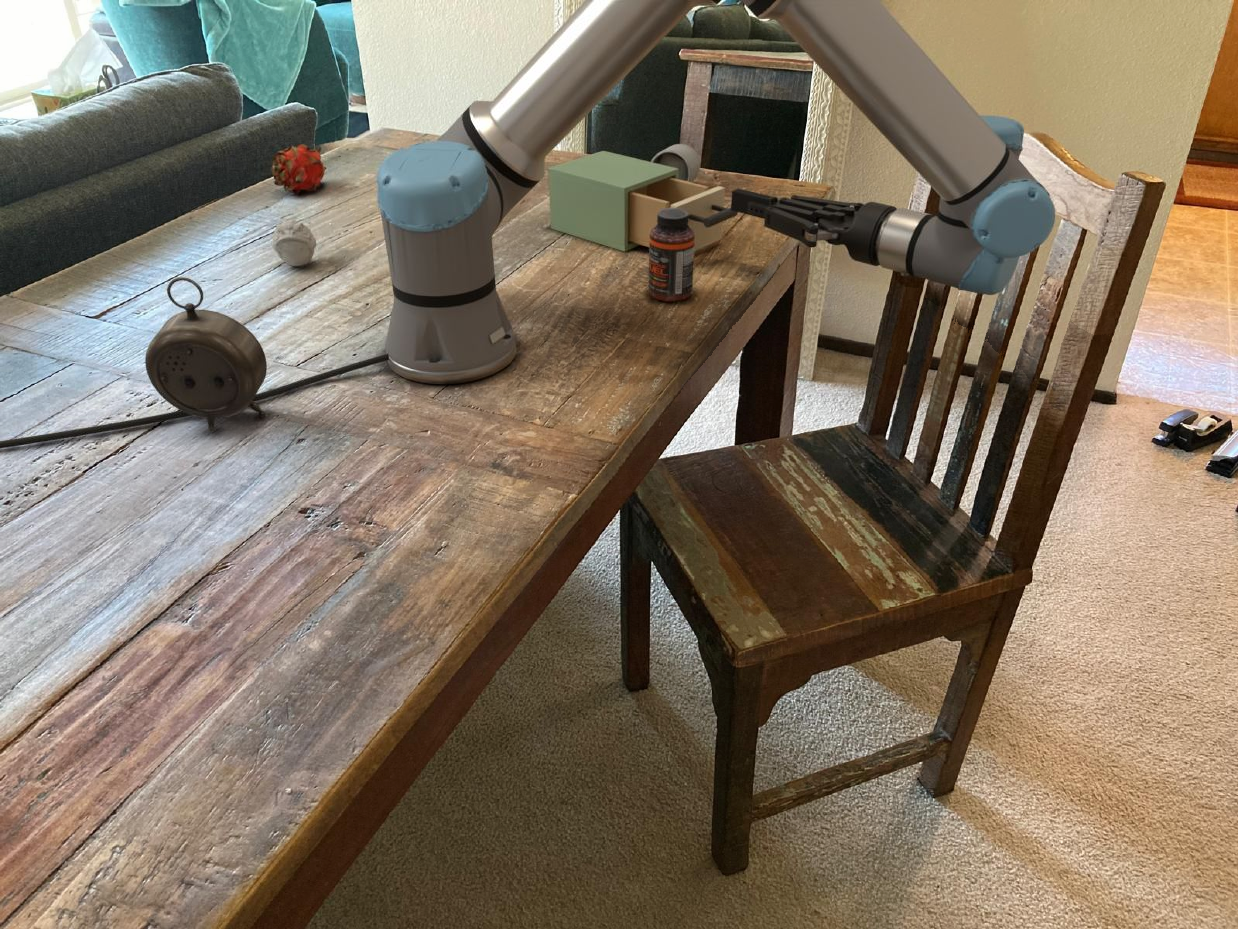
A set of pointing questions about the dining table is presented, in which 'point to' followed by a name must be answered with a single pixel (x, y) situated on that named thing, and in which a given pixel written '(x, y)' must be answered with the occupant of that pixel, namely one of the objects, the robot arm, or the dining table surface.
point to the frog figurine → (293, 242)
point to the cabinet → (599, 195)
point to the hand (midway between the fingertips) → (734, 199)
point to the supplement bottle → (671, 256)
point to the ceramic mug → (680, 161)
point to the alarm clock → (206, 363)
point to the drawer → (679, 194)
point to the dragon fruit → (297, 169)
